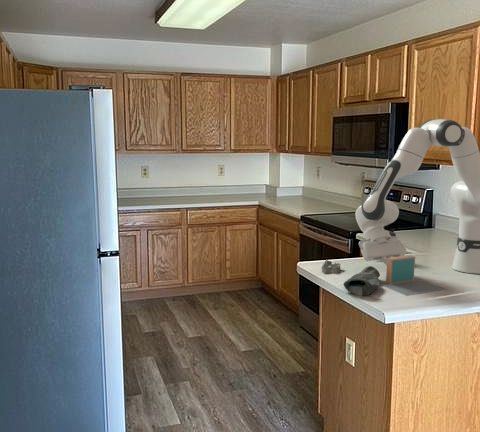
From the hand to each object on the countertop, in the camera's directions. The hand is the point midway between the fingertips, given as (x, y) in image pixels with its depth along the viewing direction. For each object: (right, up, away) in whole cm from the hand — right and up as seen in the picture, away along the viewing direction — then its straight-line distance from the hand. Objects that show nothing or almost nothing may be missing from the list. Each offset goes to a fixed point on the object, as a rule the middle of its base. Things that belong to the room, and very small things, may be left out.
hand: (391, 266), depth 207 cm
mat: (+5, -7, -9) cm, 13 cm away
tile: (+2, -5, -4) cm, 7 cm away
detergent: (-13, -7, -10) cm, 18 cm away
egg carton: (-22, -3, +13) cm, 26 cm away
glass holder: (+5, -1, +30) cm, 30 cm away
